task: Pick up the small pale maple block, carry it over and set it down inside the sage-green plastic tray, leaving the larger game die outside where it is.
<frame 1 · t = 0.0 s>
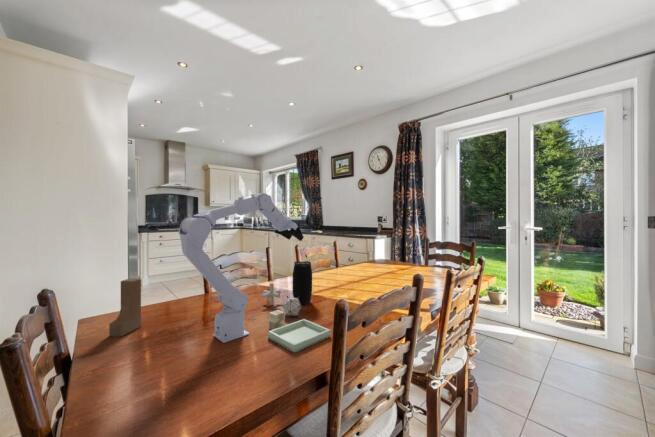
hand: (296, 238, 116), 32 cm above the table, tool tilted 50°, fingers open, 7 cm apart
game die: (292, 316, 116), on the table
maple block: (276, 328, 103), on the table
pipe connector: (271, 304, 130), on the table
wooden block: (125, 332, 99), on the table
portable speaker: (302, 303, 133), on the table
sorting tray: (299, 337, 95), on the table
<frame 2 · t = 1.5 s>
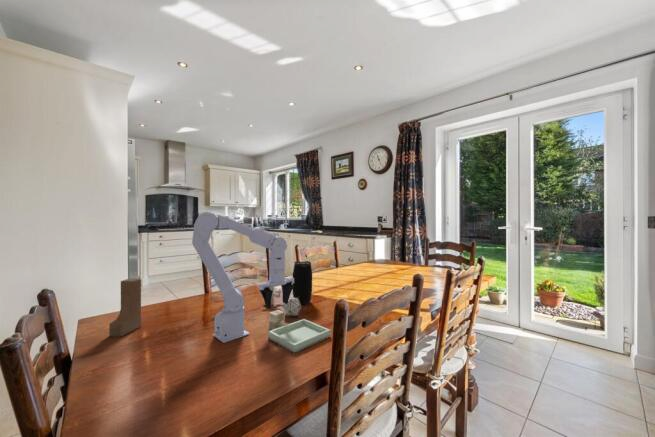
hand: (277, 305, 103), 8 cm above the table, tool pointing down, fingers open, 7 cm apart
nothing on the table moved.
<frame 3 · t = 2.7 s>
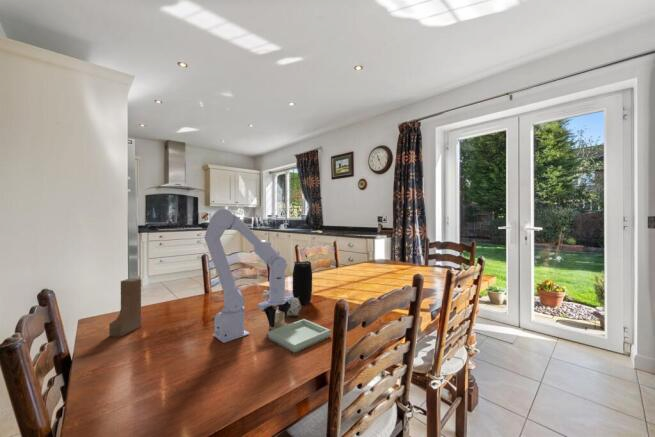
hand: (276, 324, 103), 1 cm above the table, tool pointing down, fingers closed on maple block, 4 cm apart
maple block: (276, 328, 103), on the table, touching gripper
everything else where it was.
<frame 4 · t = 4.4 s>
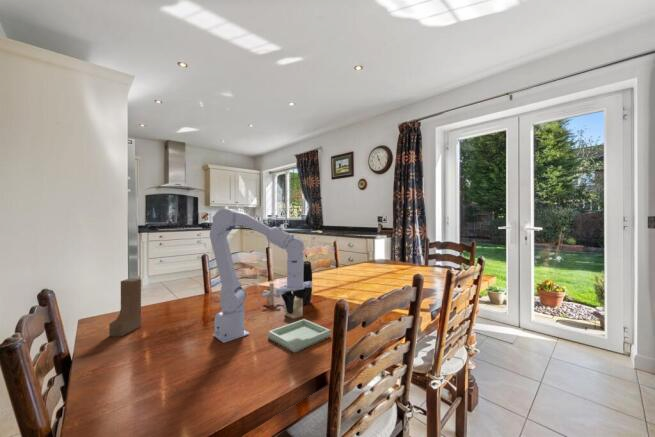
hand: (295, 311, 97), 9 cm above the table, tool pointing down, fingers closed on maple block, 4 cm apart
maple block: (294, 315, 97), point 7 cm above the table, touching gripper
everything else where it was.
when the fingers open (4 cm above the table, at t = 5.9 s): maple block drops 1 cm, resting on sorting tray.
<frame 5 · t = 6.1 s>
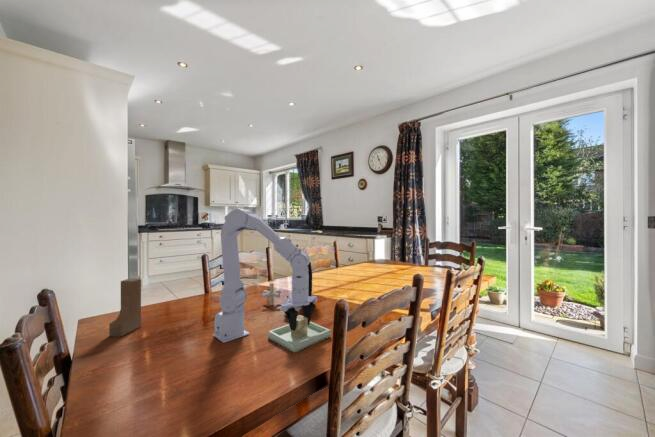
hand: (299, 327, 95), 4 cm above the table, tool pointing down, fingers open, 5 cm apart
maple block: (299, 335, 95), point 1 cm above the table, touching sorting tray
everything else where it was.
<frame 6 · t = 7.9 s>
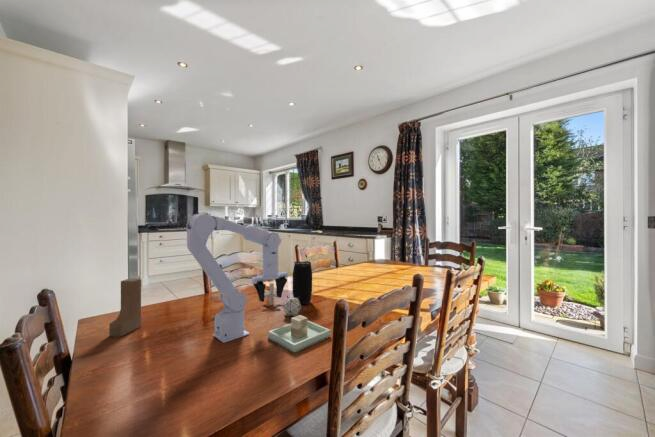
hand: (270, 298, 106), 10 cm above the table, tool pointing down, fingers open, 7 cm apart
nothing on the table moved.
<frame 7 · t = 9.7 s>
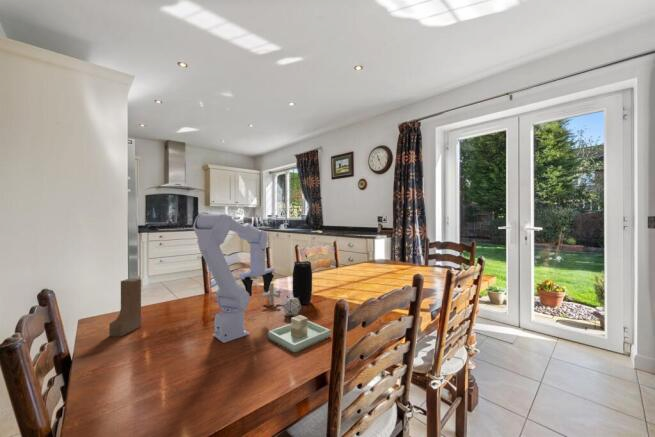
hand: (257, 293, 111), 10 cm above the table, tool pointing down, fingers open, 7 cm apart
nothing on the table moved.
at the end: maple block inside the target area on the sorting tray (0.3 cm from its centre), point 0.8 cm above the sorting tray's base; maple block tilted 0°; game die moved 0.3 cm from its start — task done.
